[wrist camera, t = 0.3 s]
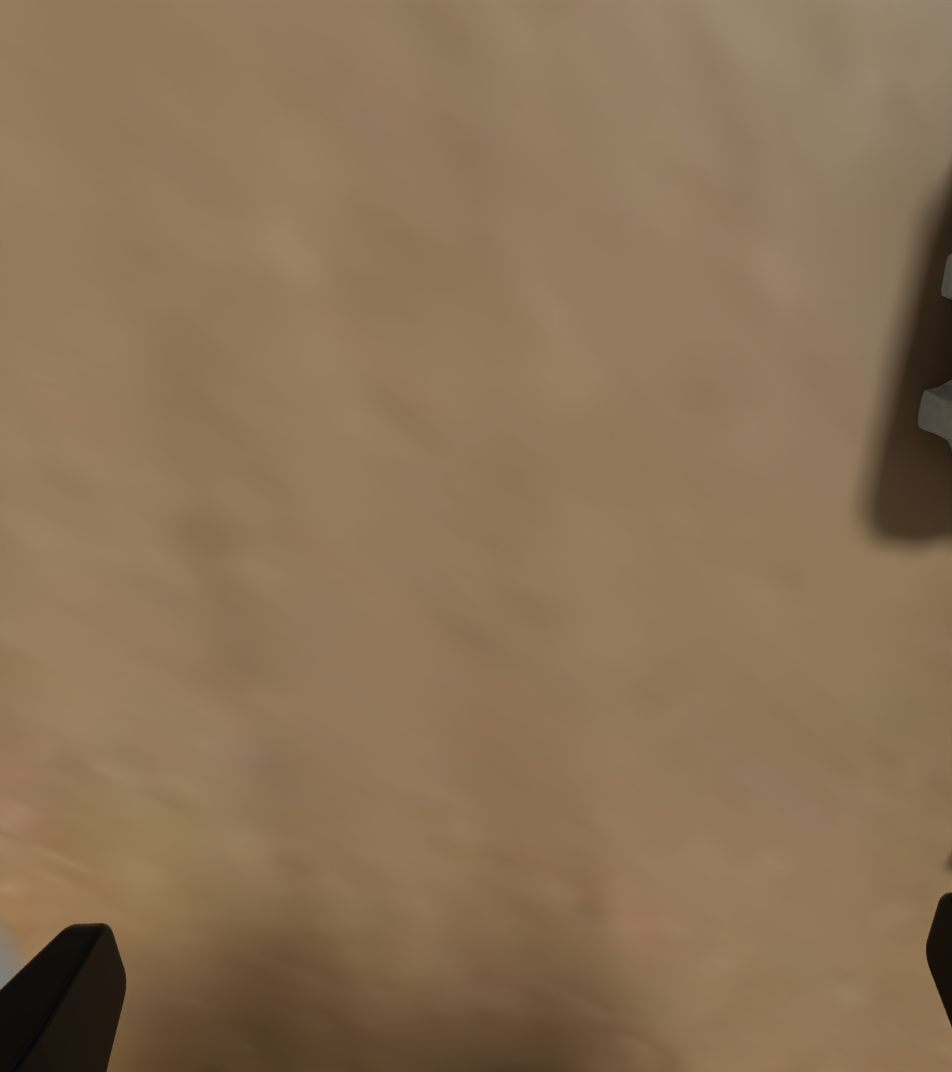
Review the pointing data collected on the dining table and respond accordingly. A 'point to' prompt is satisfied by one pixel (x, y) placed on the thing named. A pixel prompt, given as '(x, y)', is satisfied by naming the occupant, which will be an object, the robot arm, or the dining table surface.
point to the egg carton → (946, 405)
